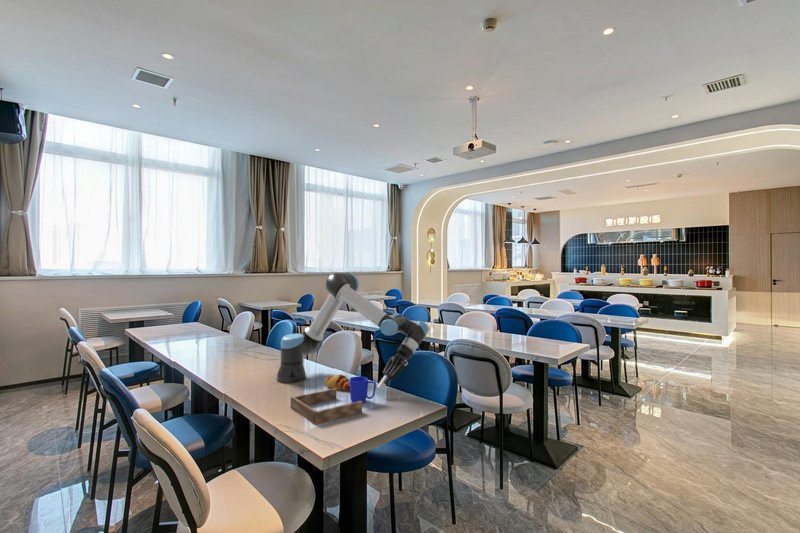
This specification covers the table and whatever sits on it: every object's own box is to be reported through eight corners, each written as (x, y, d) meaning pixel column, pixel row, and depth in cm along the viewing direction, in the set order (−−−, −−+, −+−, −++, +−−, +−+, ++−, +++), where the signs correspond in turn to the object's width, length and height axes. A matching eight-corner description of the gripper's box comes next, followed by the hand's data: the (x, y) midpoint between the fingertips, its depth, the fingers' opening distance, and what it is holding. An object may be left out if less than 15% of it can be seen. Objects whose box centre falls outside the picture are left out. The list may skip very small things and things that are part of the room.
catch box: (335, 398, 173) (335, 388, 174) (362, 412, 156) (362, 401, 156) (290, 407, 160) (290, 397, 160) (314, 424, 143) (315, 412, 143)
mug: (373, 405, 164) (373, 382, 164) (346, 403, 167) (346, 380, 167) (377, 399, 172) (378, 377, 173) (352, 397, 175) (353, 375, 175)
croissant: (320, 390, 196) (314, 378, 193) (334, 378, 202) (329, 366, 200) (347, 399, 181) (341, 386, 179) (361, 385, 188) (355, 372, 186)
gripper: (420, 355, 183) (392, 397, 172) (403, 351, 193) (375, 390, 182) (412, 345, 180) (383, 387, 169) (395, 341, 190) (366, 380, 179)
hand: (379, 388), depth 175 cm, fingers closed
